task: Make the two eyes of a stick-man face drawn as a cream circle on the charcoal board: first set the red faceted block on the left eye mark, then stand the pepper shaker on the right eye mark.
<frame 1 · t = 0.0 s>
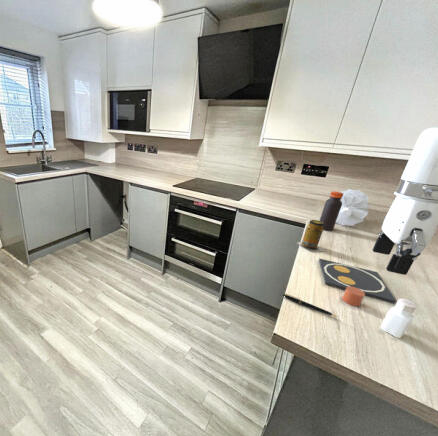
hand: (387, 261, 55), 21 cm above the worktop, tool pointing down, fingers open, 9 cm apart
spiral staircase: (342, 221, 138), on the worktop
face board: (351, 279, 84), on the worktop
fountain pen: (307, 307, 70), on the worktop
pepper shaker: (391, 331, 62), on the worktop
bottle: (324, 228, 126), on the worktop
condiment: (310, 247, 106), on the worktop
red faceted block: (350, 301, 73), on the worktop
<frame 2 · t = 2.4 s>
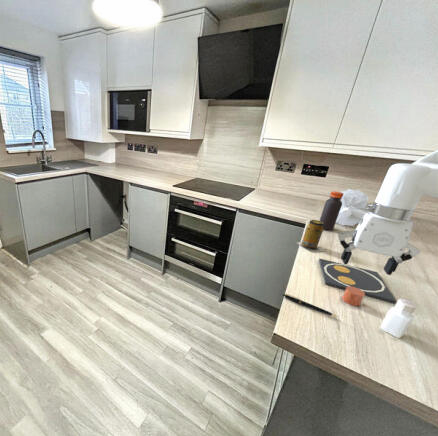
hand: (364, 267, 68), 12 cm above the worktop, tool pointing down, fingers open, 9 cm apart
nothing on the worktop moved.
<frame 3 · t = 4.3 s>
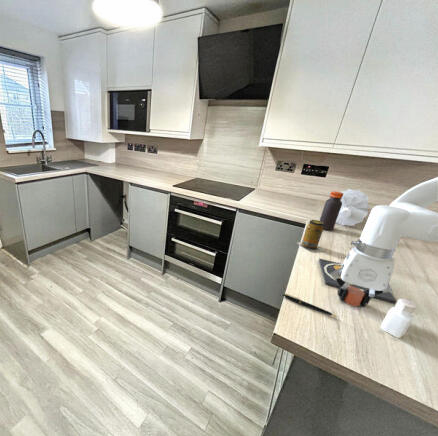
hand: (351, 300, 73), 0 cm above the worktop, tool pointing down, fingers closed on red faceted block, 4 cm apart
red faceted block: (350, 301, 73), on the worktop, touching gripper
everything else where it was.
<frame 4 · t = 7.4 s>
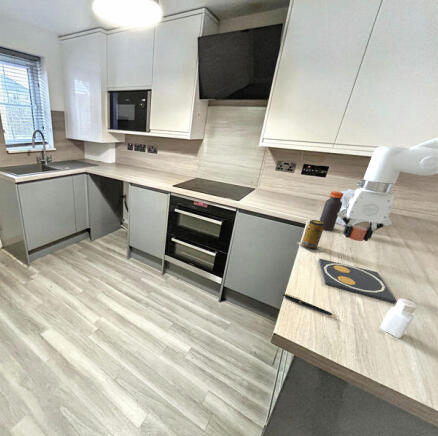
hand: (355, 237, 82), 15 cm above the worktop, tool pointing down, fingers closed on red faceted block, 4 cm apart
red faceted block: (355, 238, 82), point 14 cm above the worktop, touching gripper
everything else where it was.
when the fingers open (1 cm above the worktop, at t = 10.7 s): red faceted block stays where it is, resting on face board.
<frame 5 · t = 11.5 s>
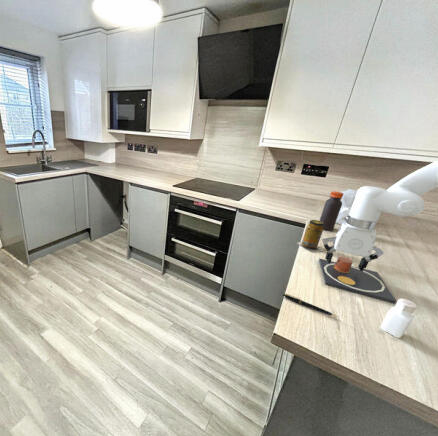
hand: (343, 265, 87), 3 cm above the worktop, tool pointing down, fingers open, 9 cm apart
red faceted block: (341, 268, 88), point 1 cm above the worktop, touching face board
everything else where it was.
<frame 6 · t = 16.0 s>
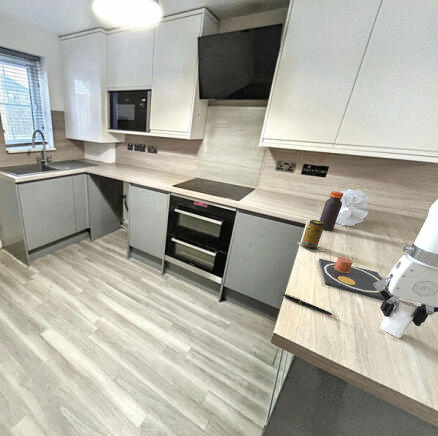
hand: (399, 317, 60), 5 cm above the worktop, tool pointing down, fingers closed on pepper shaker, 5 cm apart
pepper shaker: (391, 331, 62), on the worktop, touching gripper
everything else where it was.
when the fingers open (6 cm above the worktop, at t = 22.4 s): pepper shaker stays where it is, resting on face board.
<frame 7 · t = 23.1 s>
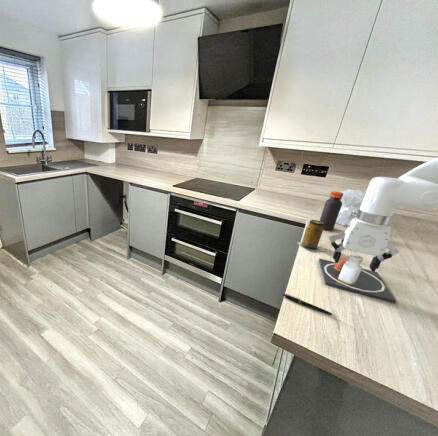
hand: (353, 265, 79), 7 cm above the worktop, tool pointing down, fingers open, 9 cm apart
pepper shaker: (346, 280, 81), point 1 cm above the worktop, touching face board
everything else where it was.
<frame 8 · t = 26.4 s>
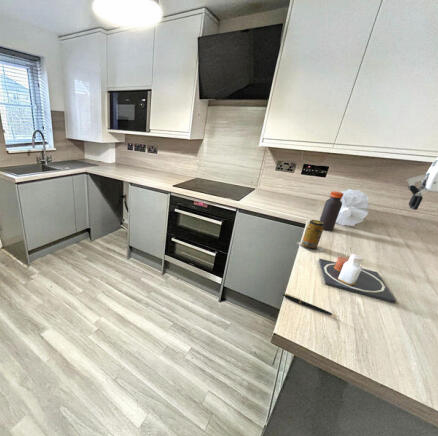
hand: (435, 211, 67), 28 cm above the worktop, tool pointing down, fingers open, 9 cm apart
nothing on the worktop moved.
at the end: red faceted block 0.1 cm from the target spot on the face board, point 1.1 cm above the face board's base; pepper shaker 0.1 cm from the target spot on the face board, point 0.9 cm above the face board's base; pepper shaker tilted 0° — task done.
